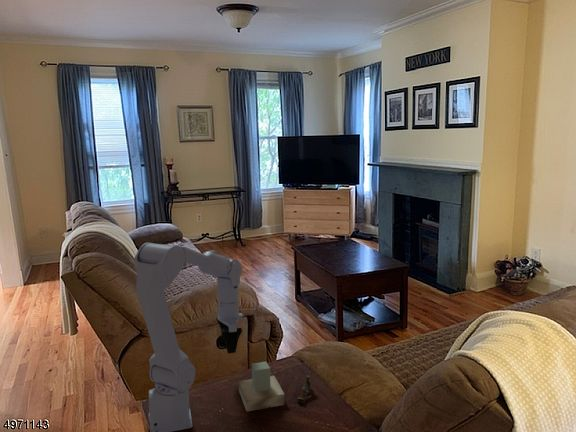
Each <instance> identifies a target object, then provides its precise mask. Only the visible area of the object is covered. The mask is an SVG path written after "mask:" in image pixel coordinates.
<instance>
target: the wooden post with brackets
mask: <svg viewBox="0 0 576 432" xmlns="http://www.w3.org/2000/svg"><path fill="white" fill-rule="evenodd" d="M311 386H312V385H311V375H309V374H307V375H306V378H305V381H304V383H303V386H302V388H301V393H300V395H299V396H298V397H297V398H296V400H297V403H303V404H305V396H307V395H309V393H310V389H312V387H311Z"/></svg>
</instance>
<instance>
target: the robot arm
mask: <svg viewBox="0 0 576 432" xmlns="http://www.w3.org/2000/svg"><path fill="white" fill-rule="evenodd" d="M133 262H134V266H135V269H136V285H135V288H136V294H137V297H138V300H139V303H140V304H139V305H140V308H141V311H142V315H143V318H144V321H145V324H146V328H147V332H148V336H149V338H150V342H151V346H152V349H153V354H152V355H151V357H149V359H148V362H149V371H148V372H149V374H148V375H149V378H150V380H151V381H152V382H153V383H154V387H155V388H152V389H149V390H148V409H149V410H148V412H149V413H148V422H149V430H150V431H149V432H176V431H182V430H188V429H192V428H193V421H192V420H193V419H192V413H191V408H190V392H189V390H190V389H189V388H191V386H192V385H193V383H194V382H195V378H196V368H195V366H194V364H192V363H191V361H190V358H189V356H188V355H187V354H186V353H185V352H184V350H183V351H182V349H181V348H180V346H179V344H178V343H179V342H178V339H177V335H176V332H175V328H174V323H173V320H172V315H171V313H170V309H169V305H168V301H167V297H166V294H165V293H166V292H165V289H166V288H167V289H168V287H170V286H171V284H172V283H173V282H174V281H175V279H176V278H177V277H178V275H179V274H180V273H181V271H182V270H183V268H184V267H187V265H192V266H196V267H198V270H199V271H200V272H201V273H204V274H207V275H209V276H213V277H214V278H216V279H217V280H216V281H217V282H216V283H217V285H216V286H217V313H218V314H217V317H216V321H217V323H218V325H219V328H220V333H221V338H222V342H223V343H225V348H226V351H227V354H234V353H236V352H237V348H238V342H239V339H240V336H241V334H242V332H243V328H242V327H238V326H237V325H238V322H239V320H240V319H242V318H244V315H243V313H241V312H239V310H240V308H239V307H240V306H239V285H240V282H241V276H242V273H243V266H242V264H241V262H240V261H239V260H238V259H236V258H229V257H228V255H227V254H218V251H217V250H212V249H210V250H208V251H204V252H203V253H201V252H199V251H196V250H194V249H191V248H189V247H187V246H179V245H172V244H164V243H163V244H162V243H153V242H145V243H143V244H142V245H141V246H140V247H139V248H138V250H137V252H136V254H135V255H134V257H133Z"/></svg>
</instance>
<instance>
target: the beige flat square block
mask: <svg viewBox="0 0 576 432" xmlns="http://www.w3.org/2000/svg"><path fill="white" fill-rule="evenodd" d="M238 392H239V396H240V397H241V401H242V403H243V406H244V408H245V411H246V412H252V411H256V410H264V409H268V408H269V407H270V408H274V407H279V406H285V404H286V403H285V401H286V399H285V392H284V391H283V388H282V387H281V385H280V383H279V382H278V380H277V378H276V376H275V375H270V390H267V391H261V392H255V390H254V388H253V386H252V378H250V379H243V380H239V381H238ZM270 408H269V409H270Z"/></svg>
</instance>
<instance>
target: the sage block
mask: <svg viewBox="0 0 576 432" xmlns="http://www.w3.org/2000/svg"><path fill="white" fill-rule="evenodd" d="M270 376H271V367H270V365H269V364H268V362H267V361H260V362H254V363H251V379H252V386H253V388H254V390H255V392H261V391H267V390H270Z"/></svg>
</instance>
